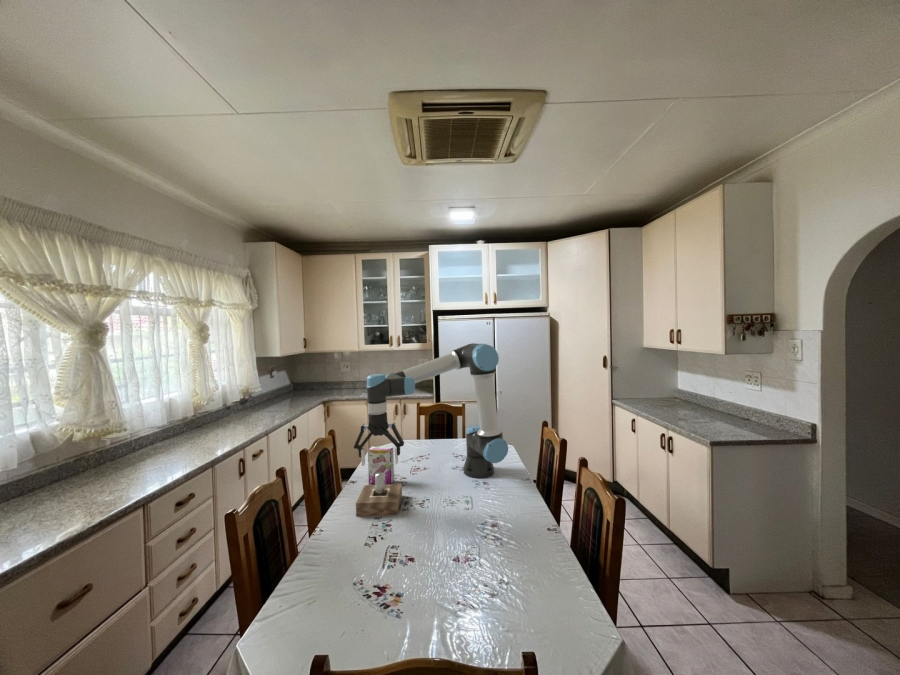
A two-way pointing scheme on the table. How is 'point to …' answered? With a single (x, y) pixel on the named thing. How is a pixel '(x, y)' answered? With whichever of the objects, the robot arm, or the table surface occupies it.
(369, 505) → the block
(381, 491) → the pin
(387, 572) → the table surface
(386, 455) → the candy bar box
